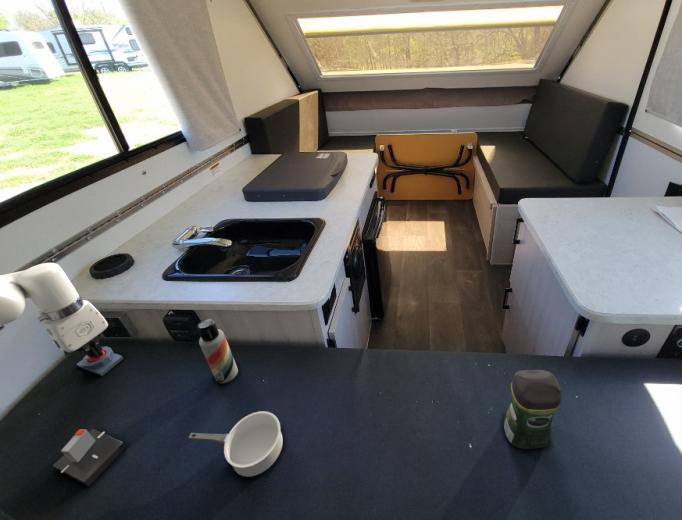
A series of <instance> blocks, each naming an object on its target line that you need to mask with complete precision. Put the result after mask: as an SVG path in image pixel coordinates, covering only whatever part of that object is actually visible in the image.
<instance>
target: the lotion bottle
mask: <svg viewBox="0 0 682 520" xmlns="http://www.w3.org/2000/svg"><path fill="white" fill-rule="evenodd" d="M196 328H197V331H198V333H199V336H200V337H199V341H198V344H199V346H200V349H201V351H202V353H203V356H204V357H205V360H206V363H207V364H208V366H209V369H210V371H211V373H212V375H213V378H214V379H215V382H217V383H219V384H226V383H229V382H232V380H234V378H236V376H237V375H238V373H239V369H238V366H237V363H236V360H235V358H234V355H233V353H232V350H231V348H230V345H229V342H228V341H227V337H226V335H225V333H224V331H223V330H222V329H220V328H219V329H218V326H217V324H216V322H215V320H214V319H206V320H203V321H201V322H199V323H198V324H197V327H196Z"/></svg>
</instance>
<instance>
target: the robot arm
mask: <svg viewBox="0 0 682 520" xmlns="http://www.w3.org/2000/svg"><path fill="white" fill-rule="evenodd" d="M26 299H30V300H31V302H33V304H34V306H36V308H37V309H38V310H39V311H38V312H39V315H38V316H37V317H36V318H35V320H36V321H37V323H42V322H43V323H44V327H45V329H46V331H47V333H48V335H49V338H50V339H51V341H52V342H53V344H54V345H55V346H56V348H58V349H60V352H61V355H62V356H65V357H68V356H70V355H73V354H74V353H76V352H84V353H85V355H87V356H88V357H90V358H92V357H94V358H97V359H98V358H99V357H100V356H102V355H103V352H102V351H101V350H102V347H103V346H101V345H100V339H101V336H102V333H104V332H105V331H106V330H107V329H108V327H109V323H108V321H107V320H106V318H105V317H104V316H103V314H101V312H100V311H99V310H98V309H97V308H96V307H95V306H94V304H92V303H91V302H90V301H88V300H87V299H82V297H81V296H80V294H79V293H78V291H77V290H76V287H75V286H74V285H73V283H72V282H71V280H70V279H69V278H68V276H67V274H66V272H65V271H64V270H63V268H62V266H60V265H59V264H58V263H56V262H44V263H39V264H36V265H33V266H31V267H29V268H27V269H24V270H19V271H15V272H10V273H6V274H1V275H0V326H4V325H8V324H10V323H12V322H14V321H16V320H17V319H18V318H20V317H21V316H22V315H23V313H24V312H25V309H26Z"/></svg>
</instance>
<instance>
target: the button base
mask: <svg viewBox="0 0 682 520" xmlns="http://www.w3.org/2000/svg"><path fill="white" fill-rule="evenodd" d="M101 347H102V350H101V351H104V352H105V355H104V356H103V357H102V358H101V359H99V360H97V361H95V362H89V360H88V358H89V357H88V356H87V354H85V356H84V357H83V358H82V360H80V361H79V362H77V363H76V366H77V367H78V368H80V369H83V370H85V371H88V372H90V373H92V374H95V375H98V376H101V377H103V376H104V375H106V374H107V373H108V372H109V371H110V370H112V369H113V368H114V367H115V366H117V365H118V364H119V363H120V362H122V361H123V360H124V359H125V358H124V357H123V355H121V354H118V353H114V351H113V350H112V348H111V347H109V346H101Z"/></svg>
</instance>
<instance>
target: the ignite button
mask: <svg viewBox="0 0 682 520" xmlns="http://www.w3.org/2000/svg"><path fill="white" fill-rule="evenodd" d="M102 352H103V355H102V356H100V357H99V358H98V359H97V358H94V357H92V358H90V357H89V358H88V360H89V362H95V361H97V360H99V359H101V358H102V357H103V356H104V355H105V352H104V351H102Z"/></svg>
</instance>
